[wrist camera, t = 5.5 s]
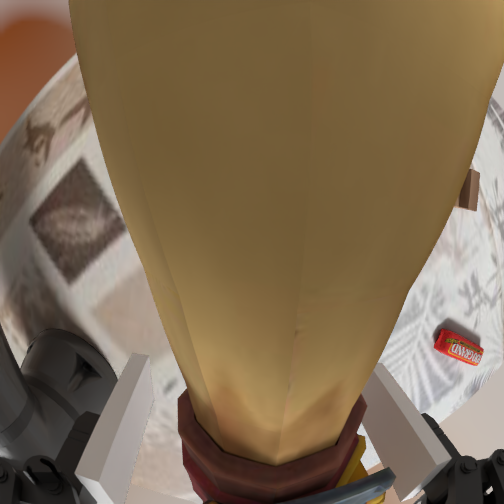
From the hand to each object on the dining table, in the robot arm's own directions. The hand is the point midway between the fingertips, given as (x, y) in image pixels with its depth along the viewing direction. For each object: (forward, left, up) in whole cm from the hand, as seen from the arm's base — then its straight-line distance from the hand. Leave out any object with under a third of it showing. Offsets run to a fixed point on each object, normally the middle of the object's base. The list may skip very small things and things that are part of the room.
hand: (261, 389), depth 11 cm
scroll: (0, 0, -1) cm, 1 cm away
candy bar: (+36, -11, -18) cm, 41 cm away
